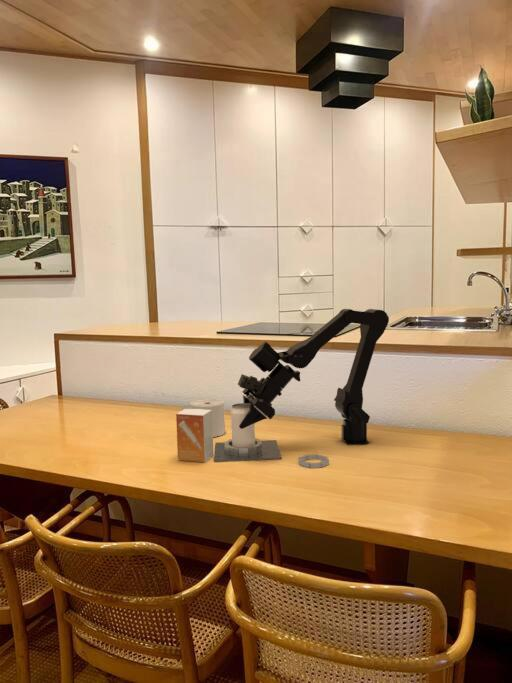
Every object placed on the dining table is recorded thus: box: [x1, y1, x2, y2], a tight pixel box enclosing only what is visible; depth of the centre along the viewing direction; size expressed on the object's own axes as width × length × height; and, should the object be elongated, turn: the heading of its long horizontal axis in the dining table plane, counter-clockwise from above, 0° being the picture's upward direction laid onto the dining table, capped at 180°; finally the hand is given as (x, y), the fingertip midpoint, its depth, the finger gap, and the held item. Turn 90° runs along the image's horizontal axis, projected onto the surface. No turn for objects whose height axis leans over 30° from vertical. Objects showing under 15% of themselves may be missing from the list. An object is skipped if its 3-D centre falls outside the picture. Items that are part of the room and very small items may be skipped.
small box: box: [175, 409, 214, 463], centre depth 143 cm, size 8×6×13 cm
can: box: [230, 402, 256, 448], centre depth 148 cm, size 6×6×12 cm
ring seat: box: [213, 437, 282, 463], centre depth 148 cm, size 18×16×2 cm
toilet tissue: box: [180, 398, 226, 438], centre depth 166 cm, size 11×12×10 cm
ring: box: [297, 453, 330, 469], centre depth 137 cm, size 8×8×1 cm
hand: (238, 424), depth 147 cm, fingers closed on can, 6 cm apart
